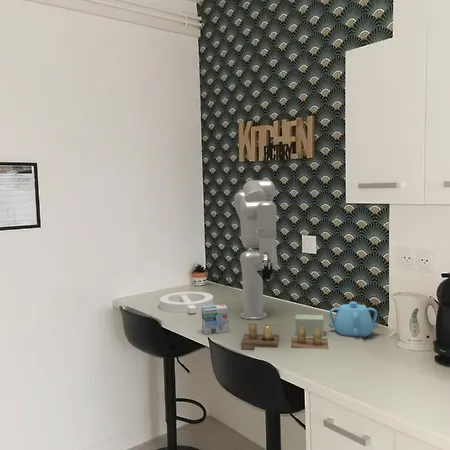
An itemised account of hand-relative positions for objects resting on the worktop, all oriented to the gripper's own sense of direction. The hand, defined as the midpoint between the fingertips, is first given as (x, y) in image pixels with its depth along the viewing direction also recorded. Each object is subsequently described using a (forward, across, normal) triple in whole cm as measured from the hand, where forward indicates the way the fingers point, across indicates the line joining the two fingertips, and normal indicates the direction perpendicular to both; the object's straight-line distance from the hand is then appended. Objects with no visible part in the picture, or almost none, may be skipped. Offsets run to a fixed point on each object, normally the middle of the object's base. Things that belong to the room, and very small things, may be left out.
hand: (267, 276), depth 194 cm
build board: (+26, +4, -3) cm, 27 cm away
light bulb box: (+27, -12, -24) cm, 38 cm away
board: (+26, +4, +16) cm, 31 cm away
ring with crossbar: (+27, -54, -47) cm, 76 cm away
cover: (+26, -8, +16) cm, 32 cm away
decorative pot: (+27, -12, +34) cm, 45 cm away
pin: (+26, +5, 0) cm, 27 cm away
